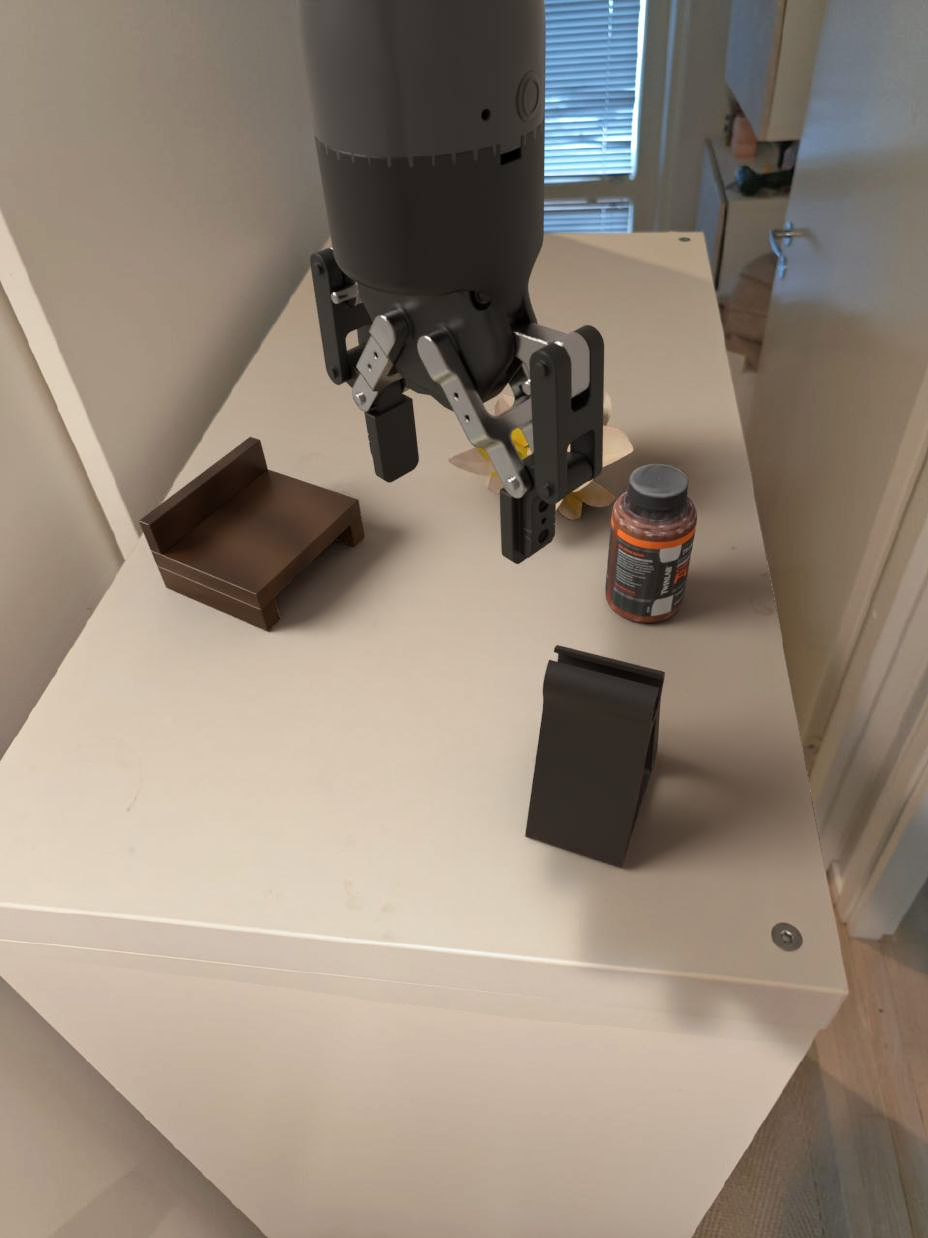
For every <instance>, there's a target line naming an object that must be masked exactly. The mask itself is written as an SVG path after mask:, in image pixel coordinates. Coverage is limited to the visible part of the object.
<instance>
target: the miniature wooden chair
mask: <svg viewBox="0 0 928 1238" xmlns="http://www.w3.org/2000/svg"><path fill="white" fill-rule="evenodd" d="M363 522H364V521H363V518H362V511H361V505H360V500H359V499H358V498H355V497H352V496H349V495H347V494H342V493H341V492H338V491H334V490H331V489H328V488H326V487H323V486H319V485H316V484H313V483H310V482H308V481H304V480H301V479H298V478H295V477H293V476H289V475H288V474H287V475H286V474H284V473H280V472H277V471H274V470H272V469H269V468H268V463H267V460H266V457H265V452H264V448H263V445H262V442H261V439H259V438H257V437H253V436H249V437H248V438H246V439H245V440H243V441H242V442H241V443H240V444H238V445H237V446H235V447H234V448H233V449H231V450H230V451H229V452H228V453H226V454H225V455H224V456H222V457H221V458H219V460H217V461H216V462H214V463H213V464H212V465H211V466H209V467H208V468H207V469H205V470H204V471H203V472H201V473H200V474H199V475H197V476H196V477H194V479H192V480H191V481H189V482H188V483H187V484H185V485H184V486H183V487H181V488H180V489H179V490H177V491H176V492H175V493H173V494H172V495H170V496H169V497H168V498H166V499H165V500H163V502H162V503H160V504H159V505H157V506H156V507H155V508H154V509H152V510H151V511H149V512H148V513H147V514H145V515H144V516H143V517H142V518H140V519H139V520H138V523H139V526H140V528H141V531H142V533H143V535H144V538H145V540H146V543H147V545H148V547H149V550H150V552H151V555H152V557H153V559H154V562H155V564H156V566H157V569H158V572H159V574H160V576H161V579H162V581H163V584H164V586H165V588H166V589H169V590H170V591H173V592H174V593H178V594H179V595H183V596H185V597H187V598H189V599H191V600H194V601H196V602H198V603H200V604H203V605H205V606H208V607H210V608H212V609H215V610H216V611H219V612H221V613H223V614H225V615H228V616H231V617H232V618H235V619H238V620H240V621H242V622H245V623H247V624H250V626H251V625H252V626H254V627H256V628H259V629H261V630H263V631H266V632H270V631H271V629H273V628H274V626H276V625H277V623H279V621H281V620H282V619H281V615H280V611H279V607H278V605H277V601H276V598H275V597H276V596H277V595H278V594H279V593H280V592H282V590H284V589H285V588H286V587H287V585H289V584H290V583H291V582H292V581H293V580H294V579H295V578H296V577H297V576H298V575H299V574H300V573H301V572H302V571H303V570H305V569H306V568H307V566H308V565H310V564H311V563H312V562H313V561H314V560H315V559H316V558H317V557H318V556H319V555H320V554H322V552H323V551H324V550H326V548H327V547H328V546H330V545H331V544H332V543H333V542H334V541H337V542H340V543H342V544H345V545H348V546H351V547H356V546H357V545H359V543H360V542H361V541H362V540H363V539H364V538H365V536H366V534H365V529H364V523H363Z"/></svg>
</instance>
